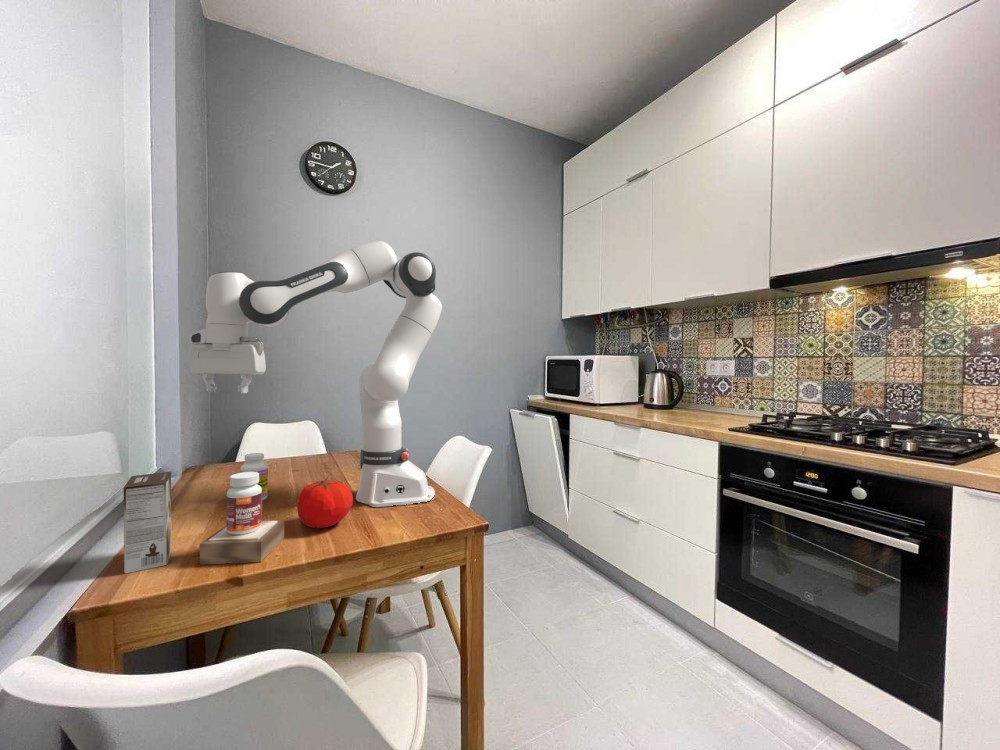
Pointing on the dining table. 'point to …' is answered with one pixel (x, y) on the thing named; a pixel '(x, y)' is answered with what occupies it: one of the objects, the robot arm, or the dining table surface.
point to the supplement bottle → (257, 470)
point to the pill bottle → (244, 503)
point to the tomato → (324, 503)
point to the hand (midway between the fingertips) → (227, 392)
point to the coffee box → (147, 521)
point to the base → (241, 544)
